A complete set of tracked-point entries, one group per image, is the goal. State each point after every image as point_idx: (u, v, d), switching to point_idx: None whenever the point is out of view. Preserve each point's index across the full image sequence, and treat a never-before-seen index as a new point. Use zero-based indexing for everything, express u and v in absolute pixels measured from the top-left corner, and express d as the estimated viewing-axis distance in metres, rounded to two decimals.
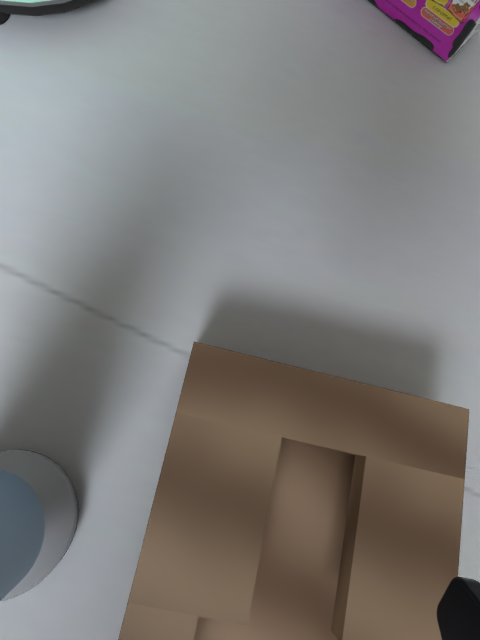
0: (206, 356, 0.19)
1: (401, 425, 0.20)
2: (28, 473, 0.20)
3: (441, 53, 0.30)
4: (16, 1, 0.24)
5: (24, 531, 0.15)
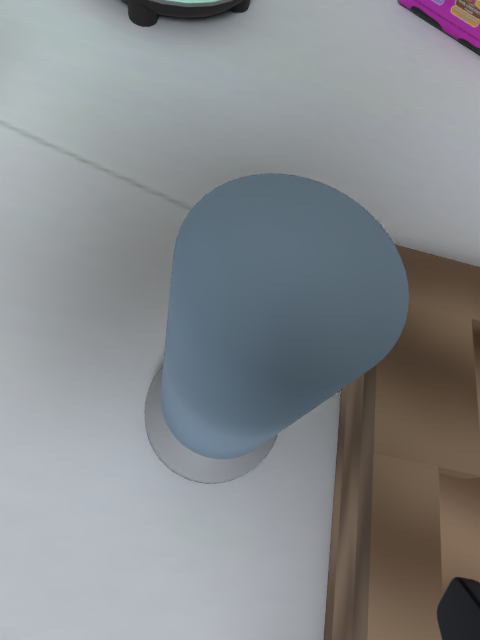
0: None
1: None
2: None
3: None
4: (177, 1, 0.29)
5: None
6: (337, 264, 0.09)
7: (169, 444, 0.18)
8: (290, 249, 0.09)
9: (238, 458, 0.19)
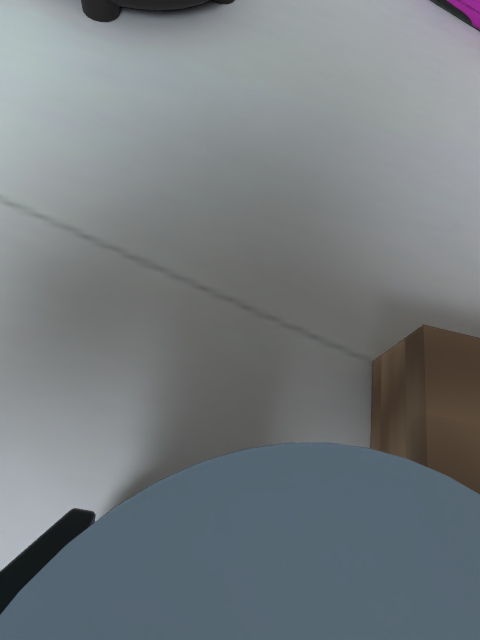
0: (442, 342, 0.15)
1: None
2: None
3: None
4: None
5: None
6: None
7: None
8: None
9: None
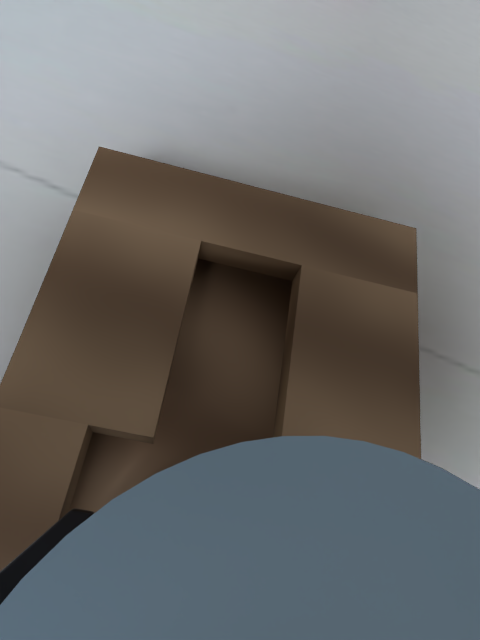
0: (113, 160, 0.17)
1: (341, 238, 0.17)
2: None
3: None
4: None
5: None
6: None
7: None
8: None
9: None
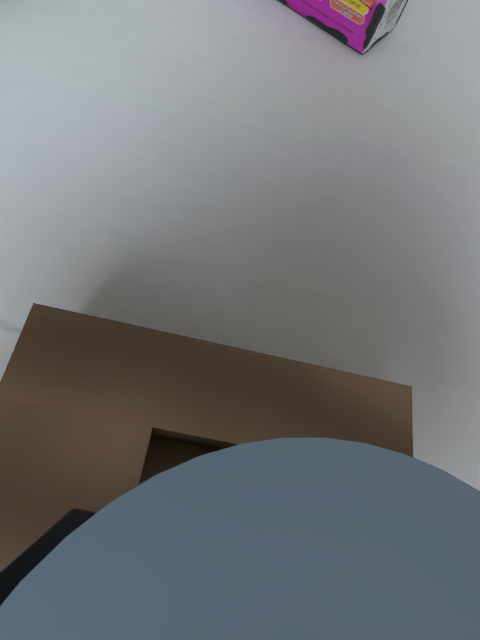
0: (49, 321, 0.14)
1: (322, 408, 0.14)
2: None
3: (356, 45, 0.29)
4: None
5: None
6: None
7: None
8: None
9: None
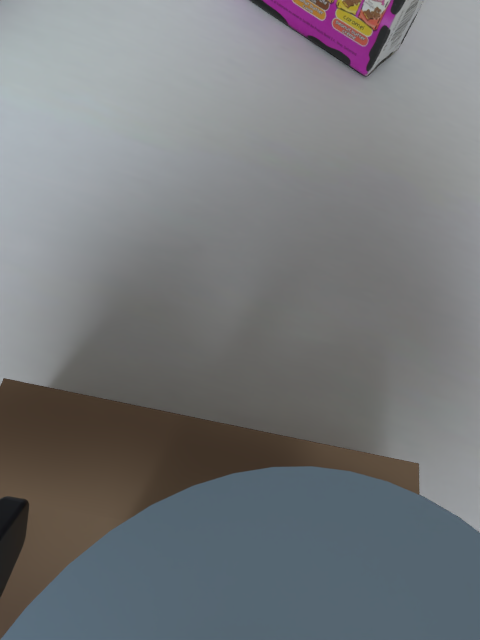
0: (21, 399, 0.13)
1: None
2: None
3: (359, 67, 0.28)
4: None
5: None
6: None
7: None
8: None
9: None
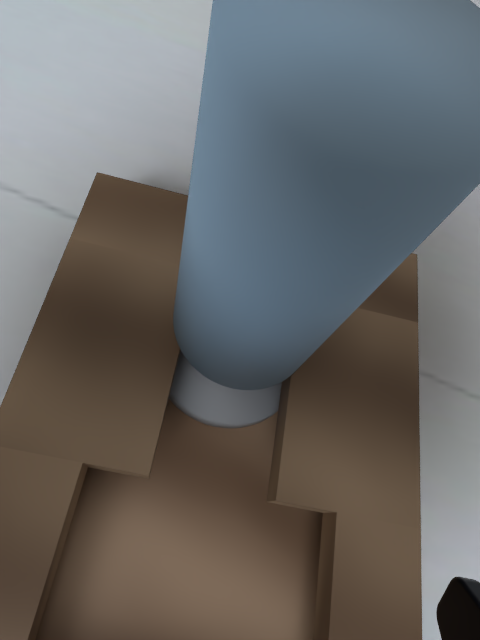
0: (111, 186, 0.17)
1: None
2: None
3: None
4: None
5: None
6: (432, 43, 0.07)
7: (182, 381, 0.16)
8: (369, 21, 0.06)
9: (261, 398, 0.16)
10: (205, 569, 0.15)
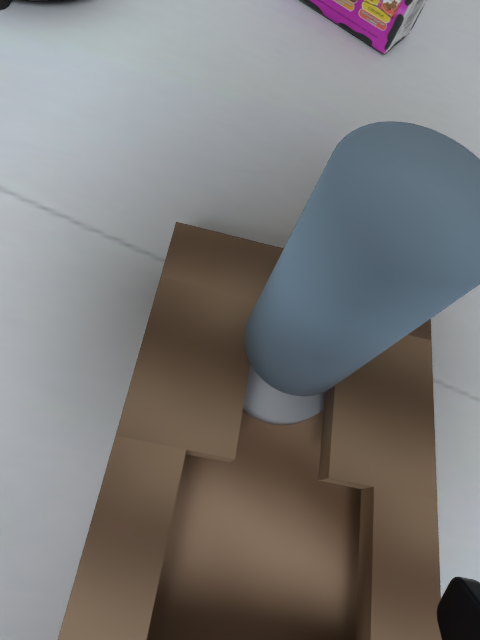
0: (188, 233, 0.21)
1: None
2: None
3: (379, 47, 0.36)
4: None
5: None
6: (455, 195, 0.11)
7: (246, 388, 0.20)
8: (417, 182, 0.11)
9: (307, 401, 0.21)
10: (270, 534, 0.19)
